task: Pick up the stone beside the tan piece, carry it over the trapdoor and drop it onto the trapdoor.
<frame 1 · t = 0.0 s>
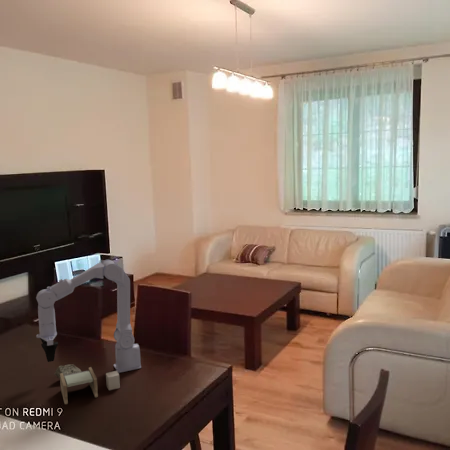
hand: (49, 357, 172), 10 cm above the table, tool pointing down, fingers open, 7 cm apart
rock sample: (72, 379, 176), on the table
trapdoor: (78, 380, 165), point 5 cm above the table, hinge at 0.0°
stone: (113, 386, 169), on the table
tan piece: (78, 391, 166), on the table
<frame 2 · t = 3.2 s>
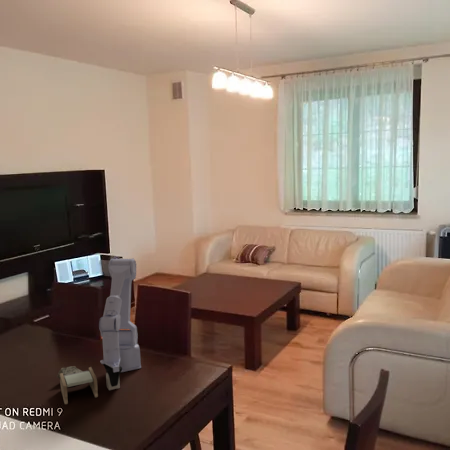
hand: (113, 383, 169), 1 cm above the table, tool pointing down, fingers closed on stone, 4 cm apart
rock sample: (75, 381, 175), on the table
stone: (113, 386, 169), on the table, touching gripper
everything else where it was.
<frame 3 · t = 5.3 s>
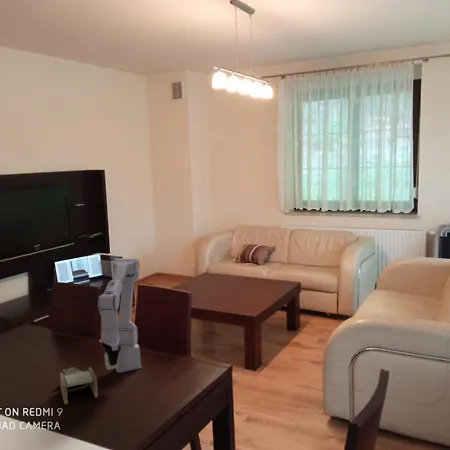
hand: (111, 362, 168), 9 cm above the table, tool pointing down, fingers closed on stone, 4 cm apart
rock sample: (76, 382, 174), on the table
stone: (112, 366, 168), point 8 cm above the table, touching gripper
everything else where it was.
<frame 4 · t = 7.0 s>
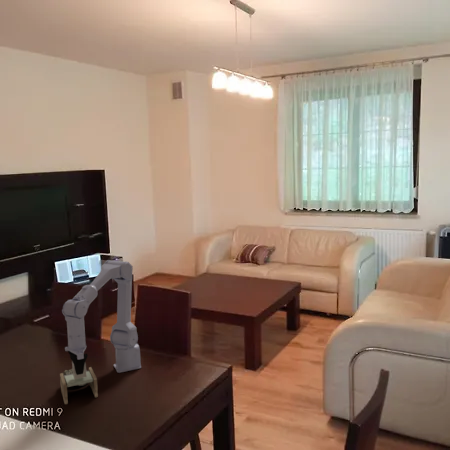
hand: (78, 371, 161), 9 cm above the table, tool pointing down, fingers closed on stone, 4 cm apart
rock sample: (78, 383, 173), on the table
stone: (79, 375, 162), point 8 cm above the table, touching gripper
everything else where it was.
when the fingers open (9 cm above the table, at t = 7.3 s): stone drops 3 cm, resting on trapdoor.
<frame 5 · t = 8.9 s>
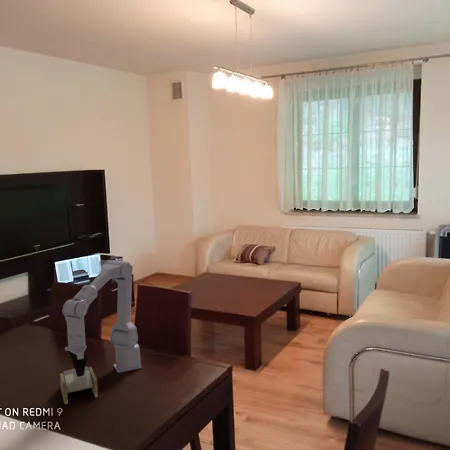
hand: (78, 371, 161), 9 cm above the table, tool pointing down, fingers open, 7 cm apart
trapdoor: (77, 380, 165), point 4 cm above the table, hinge at -24.2°, touching stone
stone: (80, 383, 162), point 5 cm above the table, tilted 24°, touching trapdoor
everything else where it was.
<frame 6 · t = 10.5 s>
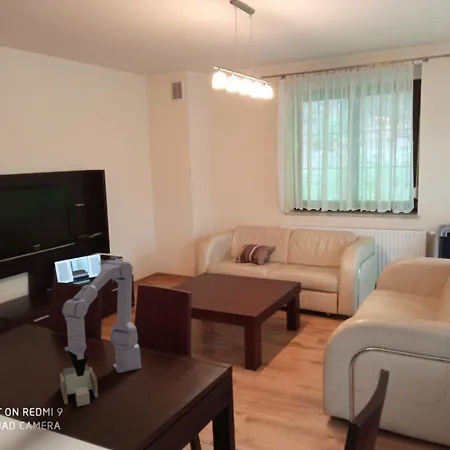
hand: (78, 371, 161), 9 cm above the table, tool pointing down, fingers open, 7 cm apart
trapdoor: (77, 380, 165), point 4 cm above the table, hinge at -40.6°
stone: (81, 393, 161), point 2 cm above the table, tilted 90°
everything else where it was.
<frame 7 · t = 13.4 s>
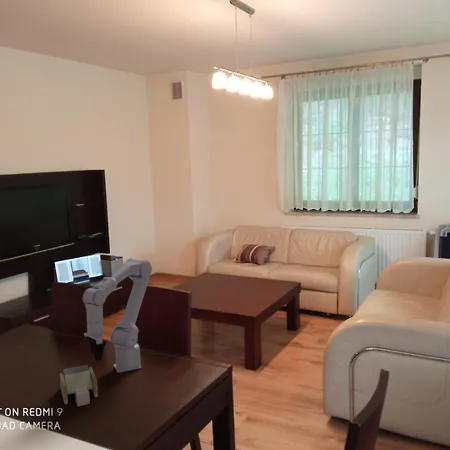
hand: (96, 356, 171), 10 cm above the table, tool pointing down, fingers open, 7 cm apart
trapdoor: (77, 380, 165), point 4 cm above the table, hinge at -37.4°
everything else where it was.
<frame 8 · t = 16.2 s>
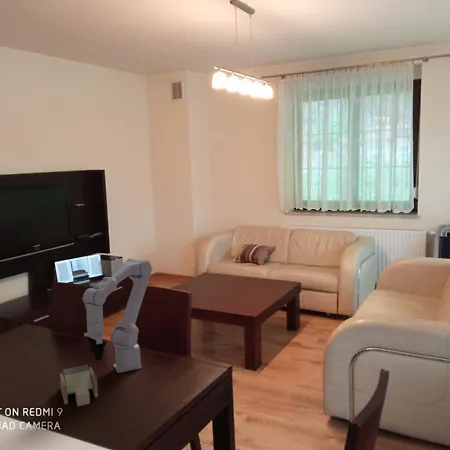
hand: (96, 356, 171), 10 cm above the table, tool pointing down, fingers open, 7 cm apart
trapdoor: (77, 380, 165), point 4 cm above the table, hinge at -36.1°
everything else where it was.
at the end: stone inside the target area (6.2 cm from its centre), point 1.8 cm above the table; stone touching table; the gripper is holding nothing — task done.
